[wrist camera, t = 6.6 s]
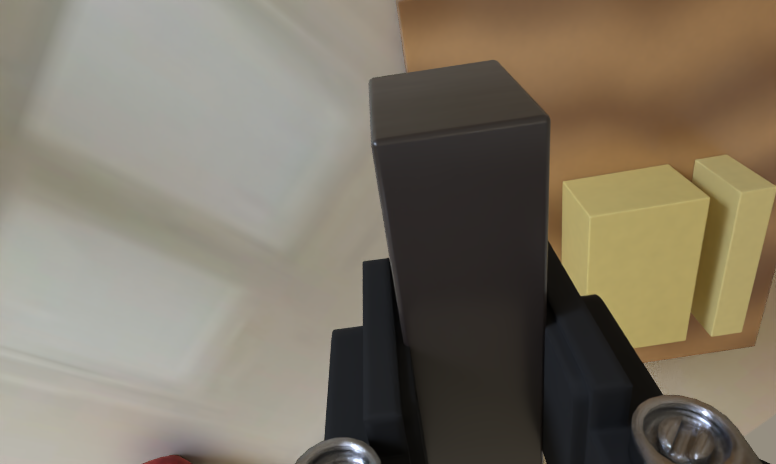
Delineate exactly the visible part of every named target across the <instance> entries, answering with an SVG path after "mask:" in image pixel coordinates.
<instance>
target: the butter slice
mask: <svg viewBox="0 0 776 464" xmlns="http://www.w3.org/2000/svg"><path fill="white" fill-rule="evenodd" d="M692 183H693V184H694V185H695V186H697V187H698V188H699V189H700V190H702V191H703V192H704V193H705V194H707V195H708V196H709V197H710V204H709V209H708V215H707V221H706V227H705V232H704V238H703V244H702V250H701V255H700V261H699V267H698V272H697V278H696V284H695V290H694V295H693V301H692V307H691V313H692V314H693V316H694V317H695V318H696V319H697V320H698V322H699V323H700V324H701V325H702V326H703V328H704V329H705V330H706V331H707V332H708V334H709V335H710V336H711V337H714V336H721V335H727V334H734V333H741V332H742V329H743V325H744V321H745V317H746V313H747V309H748V305H749V301H750V297H751V292H752V288H753V284H754V280H755V276H756V272H757V268H758V264H759V260H760V256H761V252H762V248H763V243H764V239H765V235H766V231H767V227H768V223H769V219H770V215H771V211H772V207H773V203H774V199H775V195H776V186H775V185H774V184H772V183H771V182H769V181H767V180H766V179H764V178H763V177H761V176H760V175H758V174H757V173H755V172H753V171H752V170H750V169H749V168H747V167H746V166H744V165H743V164H741V163H739V162H738V161H736V160H735V159H733V158H732V157H730V156H729V155H720V156H714V157H708V158H702V159H696V160H695V165H694V171H693V178H692Z"/></svg>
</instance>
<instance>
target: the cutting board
mask: <svg viewBox="0 0 776 464" xmlns="http://www.w3.org/2000/svg"><path fill="white" fill-rule="evenodd" d="M396 4H397V11H398V19H399V26H400V33H401V40H402V47H403V54H404V61H405V68H406V73H408V72H415V71H422V70H428V69H435V68H442V67H448V66H455V65H462V64H468V63H475V62H482V61H488V60H496V61H498V62H499V63H500V64H501V65H502V66H503V67H504V68H505V70H506V71H507V72H508V73H509V74H510V75H511V76H512V77H513V78H514V79H515V80H516V81H517V82H518V83H519V84H520V85H521V86H522V88H523V89H524V90H525V91H526V92H527V93H528V94H529V95H530V96H531V97H532V98H533V99H534V100H535V101H536V102H537V103H538V104H539V106H540V107H541V108H542V109H543V110H544V111H545V112H546V113H547V114H548V115H549V117H550V119H551V129H550V174H549V220H548V241H549V243H550V244H551V246H552V248H553V250H554V251H555V253H556V255H557V256H558V258H559V260H560V262H561V263H562V184H563V181H568V180H574V179H580V178H587V177H593V176H599V175H605V174H611V173H617V172H623V171H629V170H636V169H642V168H648V167H654V166H660V165H666V164H669V165H670V166H671V167H673V168H674V169H675V170H676V171H678V172H679V173H680V174H681V175H683V176H684V177H685V178H687V179H688V180H689V181H690V182H692V178H693V171H694V165H695V160H696V159H702V158H708V157H714V156H720V155H729V156H730V157H732V158H733V159H735V160H736V161H738V162H739V163H741V164H743V165H744V166H746V167H747V168H749V169H750V170H752V171H753V172H755V173H757V174H758V175H760V176H761V177H763V178H764V179H766V180H767V181H769V182H771V183H772V184H774V185H775V186H776V0H396ZM775 267H776V195H775V199H774V203H773V207H772V211H771V215H770V219H769V223H768V227H767V231H766V235H765V239H764V243H763V248H762V252H761V256H760V260H759V264H758V268H757V272H756V276H755V280H754V284H753V288H752V292H751V297H750V301H749V305H748V309H747V313H746V317H745V321H744V325H743V329H742V332H741V333H734V334H727V335H721V336H714V337H711V336H710V335H709V334H708V332H707V331H706V330H705V329H704V328H703V326H702V325H701V324H700V323H699V322H698V320H697V319H696V318H695V317H694V316H693V314H692V313H690V318H689V324H688V330H687V335H686V340H685V341H680V342H673V343H667V344H660V345H653V346H647V347H640V348H634V350H635V352H636V353H637V355H638V356H639V358H640V359H641V361H642V363H644V362H651V361H658V360H664V359H671V358H678V357H685V356H691V355H698V354H705V353H711V352H718V351H725V350H732V349H738V348H745V347H752V346H755V343H756V339H757V335H758V331H759V328H760V324H761V320H762V316H763V313H764V309H765V305H766V301H767V297H768V294H769V290H770V286H771V282H772V279H773V275H774V271H775Z"/></svg>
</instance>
